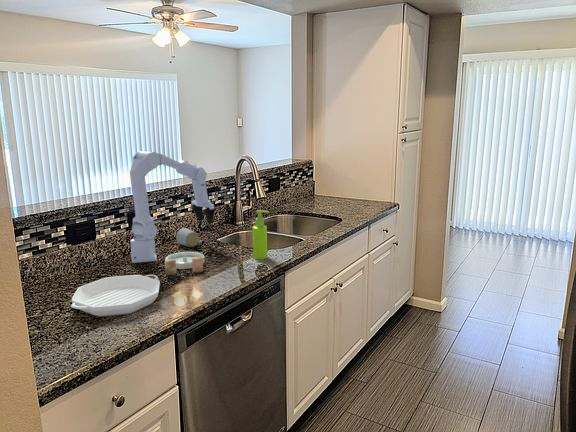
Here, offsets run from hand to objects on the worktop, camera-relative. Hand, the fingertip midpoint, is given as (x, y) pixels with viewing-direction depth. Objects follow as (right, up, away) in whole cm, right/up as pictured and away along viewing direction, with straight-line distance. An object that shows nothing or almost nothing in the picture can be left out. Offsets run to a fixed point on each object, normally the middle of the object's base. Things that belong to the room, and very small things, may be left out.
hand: (205, 221), depth 205 cm
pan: (-16, -25, -61) cm, 68 cm away
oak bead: (-6, -19, -36) cm, 41 cm away
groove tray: (-4, -16, -24) cm, 29 cm away
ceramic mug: (-7, -11, 0) cm, 13 cm away
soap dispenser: (+27, -15, -18) cm, 35 cm away
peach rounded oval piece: (+3, -18, -33) cm, 38 cm away
